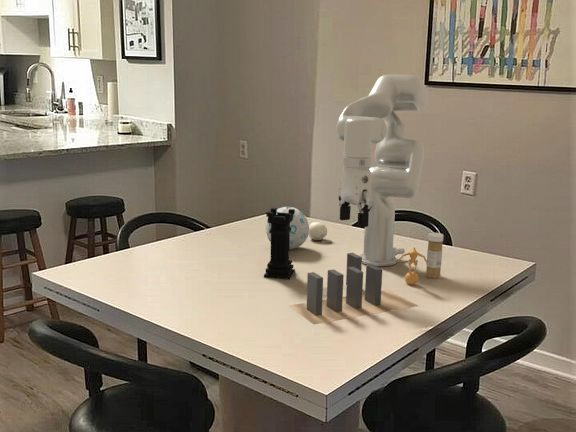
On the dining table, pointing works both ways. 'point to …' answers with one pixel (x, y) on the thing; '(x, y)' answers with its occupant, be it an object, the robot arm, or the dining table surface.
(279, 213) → the chess piece
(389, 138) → the robot arm
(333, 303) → the domino
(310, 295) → the domino
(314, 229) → the cream round ball
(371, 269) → the domino
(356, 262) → the domino
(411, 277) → the figurine
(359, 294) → the domino
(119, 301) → the dining table surface
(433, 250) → the sprinkles bottle
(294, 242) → the puzzle ball
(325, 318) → the cork mat
